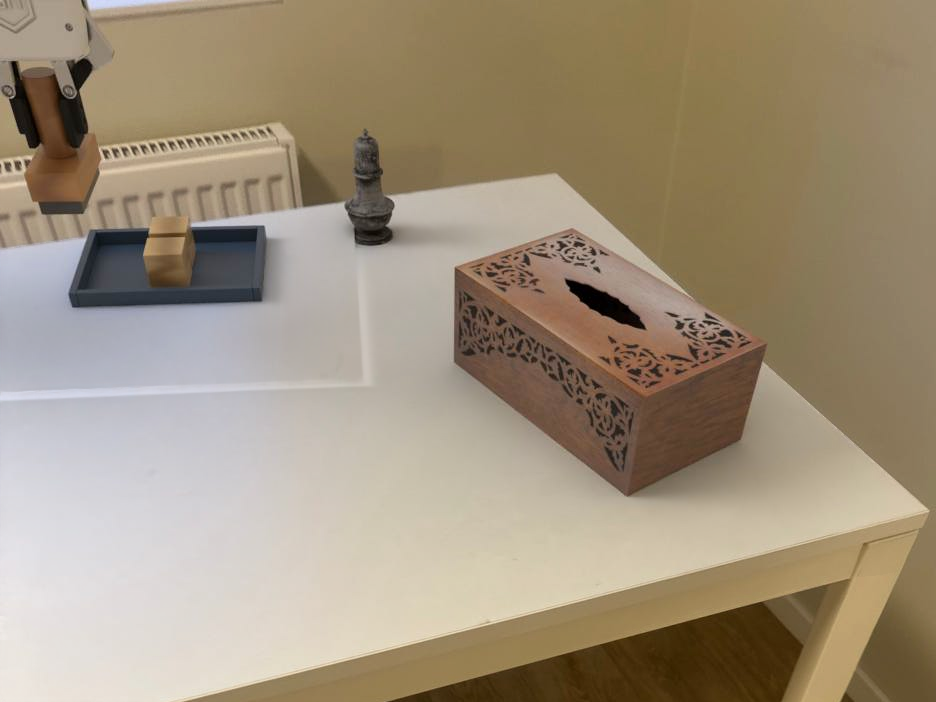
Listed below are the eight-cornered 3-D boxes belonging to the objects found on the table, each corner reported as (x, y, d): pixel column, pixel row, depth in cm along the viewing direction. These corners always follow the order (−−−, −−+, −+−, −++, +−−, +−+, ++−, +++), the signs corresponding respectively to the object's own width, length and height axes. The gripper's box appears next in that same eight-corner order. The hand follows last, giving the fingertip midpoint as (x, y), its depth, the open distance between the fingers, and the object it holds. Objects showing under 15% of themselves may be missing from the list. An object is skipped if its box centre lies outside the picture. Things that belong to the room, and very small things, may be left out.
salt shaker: (358, 250, 112) (351, 142, 104) (338, 229, 116) (329, 123, 107) (404, 240, 114) (400, 133, 106) (383, 220, 118) (378, 114, 109)
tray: (73, 314, 101) (67, 293, 100) (95, 248, 111) (89, 229, 109) (262, 307, 103) (259, 287, 101) (267, 244, 113) (264, 224, 111)
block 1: (156, 268, 107) (148, 233, 104) (160, 251, 109) (152, 216, 106) (193, 267, 107) (186, 232, 104) (196, 250, 110) (189, 215, 107)
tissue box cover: (740, 439, 90) (767, 343, 82) (626, 496, 84) (644, 397, 76) (563, 320, 103) (572, 228, 96) (453, 361, 97) (454, 266, 90)
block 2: (151, 291, 103) (142, 255, 100) (155, 273, 106) (147, 237, 103) (189, 290, 104) (181, 254, 101) (192, 272, 106) (185, 236, 103)
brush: (36, 216, 85) (-3, 92, 77) (56, 173, 91) (22, 54, 83) (88, 215, 85) (54, 91, 78) (104, 172, 91) (75, 54, 84)
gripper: (-150, -111, 68) (-51, 160, 81) (88, -107, 69) (146, 159, 83) (-116, -133, 73) (-28, 126, 86) (106, -129, 74) (158, 125, 88)
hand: (57, 140), depth 84 cm, fingers closed on brush, 2 cm apart
